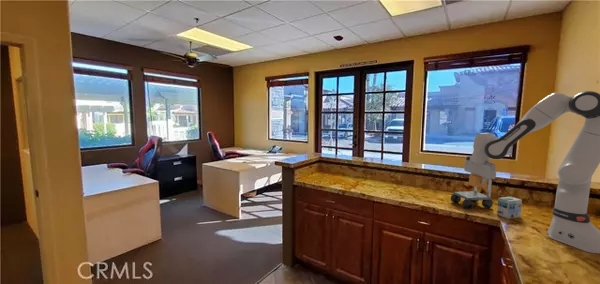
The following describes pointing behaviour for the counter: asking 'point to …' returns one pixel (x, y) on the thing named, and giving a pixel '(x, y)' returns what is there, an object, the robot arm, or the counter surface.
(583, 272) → the counter surface
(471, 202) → the trolley
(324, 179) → the counter surface
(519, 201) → the light bulb box
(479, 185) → the block
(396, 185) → the counter surface
